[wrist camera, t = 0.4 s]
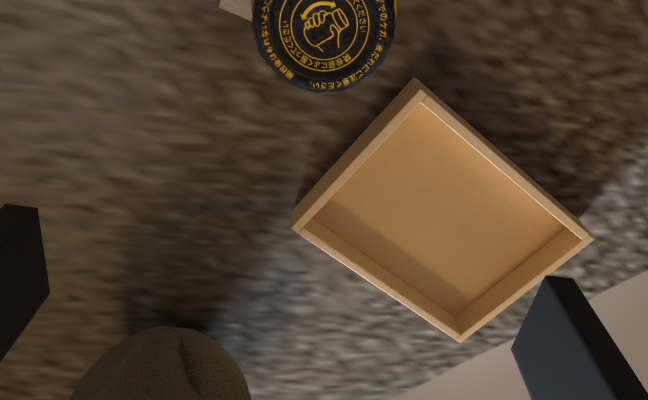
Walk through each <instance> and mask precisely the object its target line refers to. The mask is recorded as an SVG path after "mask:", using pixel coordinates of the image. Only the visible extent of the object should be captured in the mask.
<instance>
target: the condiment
mask: <svg viewBox="0 0 648 400" xmlns="http://www.w3.org/2000/svg"><path fill="white" fill-rule="evenodd" d="M219 8H221V9H224V10H226V11H228V12H230V13H233V14H235V15H238V16H240V17H243V18H245V19H247V20H249V21H251V22H252V26H253V31H254V35H255V40H256V42H257V47H258V51H259V53H260V55H261V56H262V57H263V58H264V60H265V61H266V63H267V65H268V66H270V67H271V68H272V70H273V71H275V73H276V74H277V76H279V77H280V78H282V79H283V80H285V81H286V82H288V83H290V84H292V85H295V86H297V87H299V88H301V89H305V90H308V91H311V92H316V93H321V92H332V91H343V90H346V89H349V88H351V87H353V86H355V85H357V84H358V83H360V82H361V81H362V80H364V79H365V78H367V77H368V76H369V75H370V74H371V73H372V72H373V71H374V70H375V69H376V68H377V67H379V66H380V64H381V63H382V62H383V61H384V58H385V56H386V54H387V51H388V50H389V49H390V47H391V42H392V39H393V37H394V29H395V22H396V17H397V13H398V12H397V0H221V2H220V5H219Z"/></svg>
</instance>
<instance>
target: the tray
mask: <svg viewBox="0 0 648 400" xmlns="http://www.w3.org/2000/svg"><path fill="white" fill-rule="evenodd" d="M291 229H292V230H294V231H295V232H297V233H298V234H300V235H301V236H303V237H304V238H306V239H307V240H309V241H310V242H312V243H313V244H315V245H316V246H317V247H319V248H320V249H322V250H323V251H325V252H326V253H328V254H329V255H331V256H332V257H334V258H335V259H337V260H338V261H340V262H341V263H343V264H344V265H346V266H347V267H349V268H350V269H352V270H353V271H355V272H356V273H358V274H359V275H361V276H362V277H364V278H365V279H366V280H368V281H369V282H371V283H372V284H374V285H375V286H377V287H378V288H380V289H381V290H383V291H384V292H386V293H387V294H389V295H390V296H392V297H393V298H395V299H396V300H398V301H399V302H401V303H402V304H404V305H405V306H407V307H408V308H410V309H411V310H413V311H414V312H415V313H417V314H418V315H420V316H421V317H423V318H424V319H426V320H427V321H429V322H430V323H432V324H433V325H435V326H436V327H438V328H439V329H441V330H442V331H444V332H445V333H447V334H448V335H450V336H451V337H453V338H454V339H456V340H457V341H459V342H460V343H461V342H462V341H464V340H465V339H466V338H468V337H469V336H470V335H471V334H473V333H474V332H475V331H477V330H478V329H479V328H480V327H482V326H483V325H484V324H486V323H487V322H488V321H490V320H491V319H492V318H493V317H495V316H496V315H497V314H499V313H500V312H501V311H502V310H504V309H505V308H506V307H508V306H509V305H510V304H512V303H513V302H514V301H515V300H517V299H518V298H519V297H521V296H522V295H523V294H524V293H526V292H527V291H528V290H530V289H531V288H532V287H534V286H535V285H536V284H537V283H539V282H540V281H541V280H543V279H544V277H545V275H549V274H550V273H552V272H553V271H554V270H556V269H557V268H558V267H559V266H561V265H562V264H563V263H565V262H566V261H567V260H568V259H570V258H571V257H572V256H574V255H575V254H576V253H578V252H579V251H580V250H581V249H583V248H584V247H585V246H587V245H588V244H589V243H591V242H592V241H593V240H594V237H593V236H592V235H591V234H590V233H589V231H588V230H587V229H586V228H585V226H584V225H583V224H582V223H581V222H580V220H579V219H578V218H576V217H575V216H574V215H573V214H572V213H571V212H570V211H568V210H567V209H566V208H565V207H564V206H563V205H562V204H560V203H559V202H558V201H557V200H556V199H555V198H553V197H552V196H551V195H550V194H549V193H548V192H547V191H545V190H544V189H543V188H542V187H541V186H540V185H539V184H537V183H536V182H535V181H534V180H533V179H532V178H530V177H529V176H528V175H527V174H526V173H525V172H524V171H522V170H521V169H520V168H519V167H518V166H517V165H516V164H514V163H513V162H512V161H511V160H510V159H509V158H507V157H506V156H505V155H504V154H503V153H502V152H501V151H499V150H498V149H497V148H496V147H495V146H494V145H493V144H491V143H490V142H489V141H488V140H487V139H486V138H484V137H483V136H482V135H481V134H480V133H479V132H478V131H476V130H475V129H474V128H473V127H472V126H471V125H470V124H468V123H467V122H466V121H465V120H464V119H463V118H461V117H460V116H459V115H458V114H457V113H456V112H455V111H453V110H452V109H451V108H450V107H449V106H448V105H447V104H445V103H444V102H443V101H442V100H441V99H440V98H438V97H437V96H436V95H435V94H434V93H433V92H432V91H430V90H429V89H428V88H427V87H426V86H425V85H424V84H422V83H421V82H420V81H419V80H418V79H417V78H415V77H413V78H412V80H411V81H410V82H409V83H408V84H407V85H406V86H405V87H404V88H403V89H402V90H401V92H400V93H399V94H398V95H397V96H396V97H395V98H394V99H393V100H392V101H391V103H390V104H389V105H388V106H387V107H386V108H385V109H384V110H383V111H382V112H381V113H380V115H379V116H378V117H377V118H376V119H375V120H374V121H373V122H372V123H371V124H370V125H369V127H368V128H367V129H366V130H365V131H364V132H363V133H362V134H361V135H360V136H359V138H358V139H357V140H356V141H355V142H354V143H353V144H352V145H351V146H350V147H349V148H348V150H347V151H346V152H345V153H344V154H343V155H342V156H341V157H340V158H339V159H338V161H337V162H336V163H335V164H334V165H333V166H332V167H331V168H330V169H329V170H328V171H327V173H326V174H325V175H324V176H323V177H322V178H321V179H320V180H319V181H318V182H317V184H316V185H315V186H314V187H313V188H312V189H311V190H310V191H309V192H308V193H307V194H306V196H305V197H304V198H303V199H302V200H301V201H300V202H299V203H298V204H297V205H296V207H295V208H294V209H293V212H292V222H291Z"/></svg>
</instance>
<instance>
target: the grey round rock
mask: <svg viewBox="0 0 648 400" xmlns="http://www.w3.org/2000/svg"><path fill="white" fill-rule="evenodd" d="M69 400H251V396H250V393H249V390H248V386H247V383H246V381H245V378H244V376H243V374H242V372H241V370H240V368H239V366H238V365H237V363H236V362H235V360H234V359H233V358H232V357H231V356H230V354H229V353H228V352H227V351H226V350H225V349H224V348H223V347H222V346H221V345H220V344H218V343H217V342H216V341H214V340H213V339H212V338H210V337H208V336H207V335H205V334H203V333H201V332H198V331H196V330H193V329H189V328H180V327H172V326H156V327H151V328H147V329H144V330H142V331H140V332H138V333H136V334H134V335H132V336H130V337H128V338H126V339H125V340H123V341H122V342H120V343H119V344H117V345H116V346H115V347H113V348H112V349H111V350H109V351H108V352H107V353H106V354H105V355H103V356H102V357H101V358H100V359H99V360H98V361H97V362H96V363H95V364H94V365H93V366H92V367H91V368H90V369H89V370H88V371H87V373H86V374H85V375H84V376H83V377H82V379H81V380H80V381H79V383H78V384H77V386H76V388H75V389H74V391H73V393H72V395H71V396H70V398H69Z"/></svg>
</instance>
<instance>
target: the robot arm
mask: <svg viewBox="0 0 648 400" xmlns="http://www.w3.org/2000/svg"><path fill="white" fill-rule="evenodd" d="M49 294H50V290H49V283H48V276H47V269H46V262H45V256H44V249H43V242H42V235H41V229H40V222H39V215H38V208H33V207H26V206H18V205H11V204H5V205H4V206H3V207H2V208H1V209H0V362H1V361H2V359H3V358H4V356H5V355H6V354H7V352H8V351H9V350H10V348H11V347H12V345H13V344H14V343H15V341H16V340H17V338H18V337H19V336H20V334H21V333H22V331H23V330H24V329H25V327H26V326H27V325H28V323H29V322H30V320H31V319H32V318H33V316H34V315H35V313H36V312H37V311H38V309H39V308H40V306H41V305H42V304H43V302H44V301H45V299H46V298H47V297H48V295H49ZM511 350H512V353H513V355H514V358H515V360H516V363H517V365H518V368H519V370H520V373H521V375H522V378H523V380H524V382H525V385H526V387H527V390H528V392H529V395H530V397H531V400H648V393H647V392H646V390H645V389H644V387H643V386H642V384H641V382H640V381H639V379H638V378H637V376H636V375H635V373H634V372H633V370H632V369H631V367H630V366H629V364H628V362H627V361H626V359H625V358H624V356H623V355H622V353H621V352H620V350H619V349H618V347H617V345H616V344H615V342H614V341H613V339H612V338H611V336H610V335H609V333H608V332H607V330H606V329H605V327H604V326H603V324H602V322H601V321H600V319H599V318H598V316H597V315H596V313H595V312H594V310H593V309H592V307H591V305H590V304H589V302H588V301H587V299H586V298H585V296H584V295H583V293H582V292H581V290H580V289H579V287H578V285H577V284H576V282H575V281H574V279H572V278H564V277H556V276H549V275H545V277H544V279H543V281H542V284H541V286H540V288H539V290H538V292H537V294H536V296H535V299H534V301H533V303H532V305H531V307H530V309H529V311H528V313H527V316H526V318H525V320H524V322H523V324H522V326H521V328H520V331H519V333H518V335H517V337H516V339H515V341H514V343H513V346H512V348H511Z"/></svg>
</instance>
